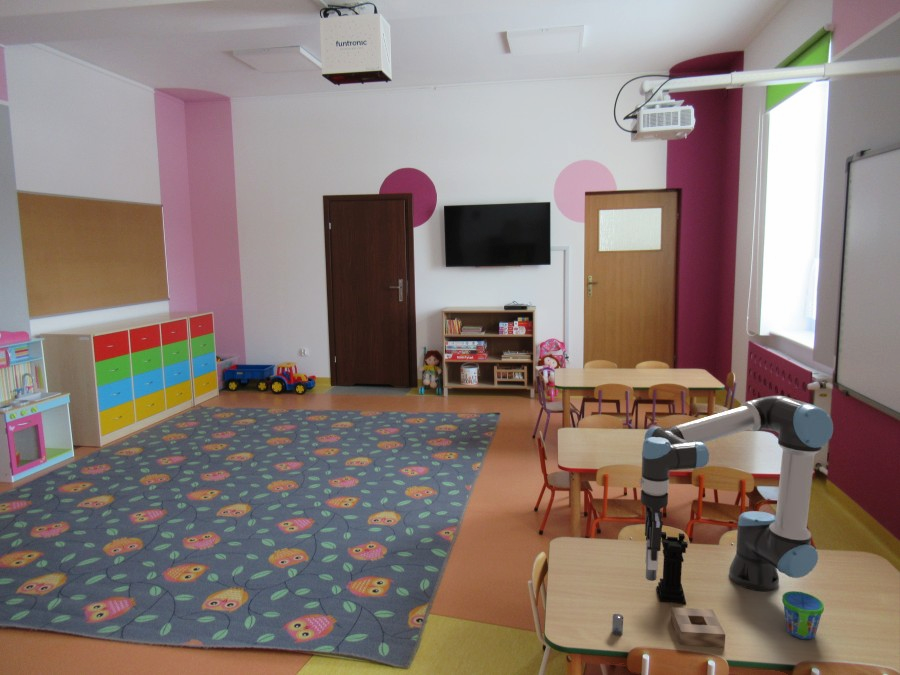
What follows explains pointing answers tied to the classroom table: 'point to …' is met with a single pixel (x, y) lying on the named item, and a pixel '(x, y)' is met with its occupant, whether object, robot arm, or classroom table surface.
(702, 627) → the hole block
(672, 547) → the chess piece
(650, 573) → the long pin
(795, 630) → the snack cup
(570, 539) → the classroom table surface
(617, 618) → the short pin
